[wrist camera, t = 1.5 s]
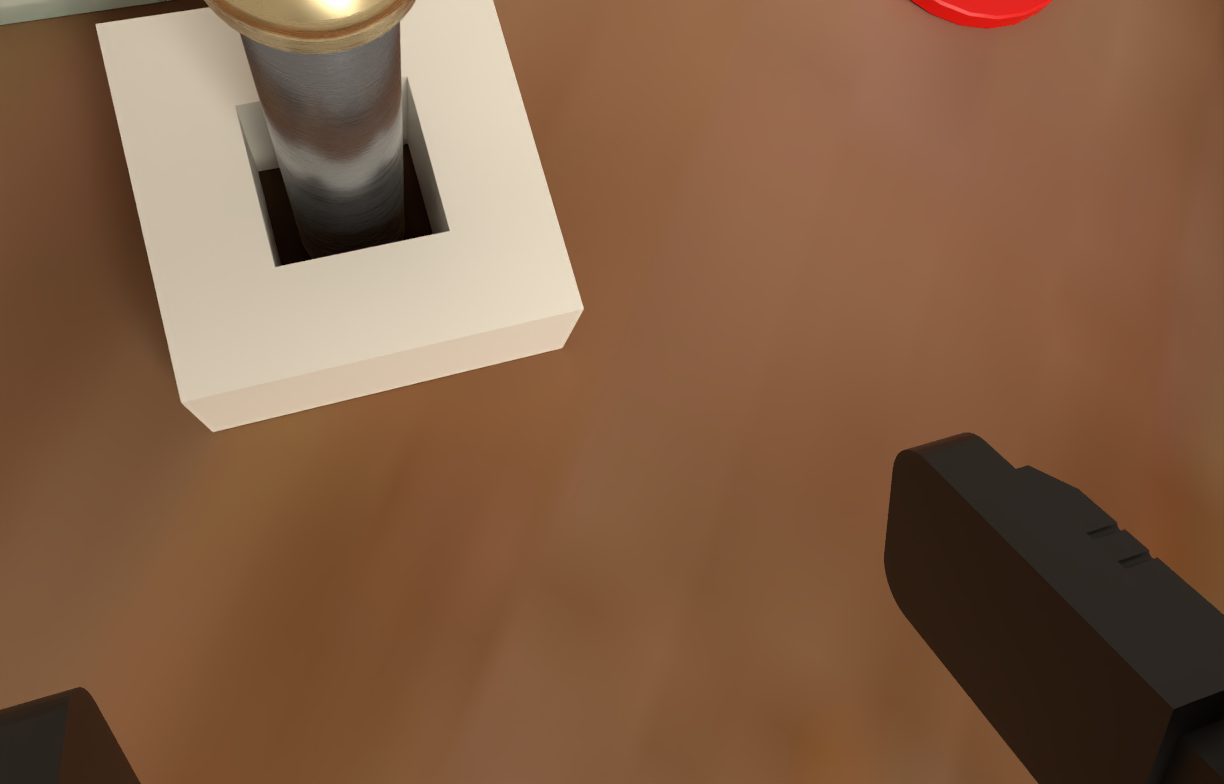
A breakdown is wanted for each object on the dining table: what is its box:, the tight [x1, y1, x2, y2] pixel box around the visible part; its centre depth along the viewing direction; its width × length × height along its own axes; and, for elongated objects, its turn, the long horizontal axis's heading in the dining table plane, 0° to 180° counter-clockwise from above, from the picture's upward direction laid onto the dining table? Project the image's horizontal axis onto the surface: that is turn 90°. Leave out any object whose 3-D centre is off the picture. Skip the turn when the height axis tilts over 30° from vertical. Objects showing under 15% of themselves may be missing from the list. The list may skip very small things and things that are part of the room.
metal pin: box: [204, 0, 416, 259], centre depth 23 cm, size 4×4×14 cm
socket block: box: [95, 0, 584, 432], centre depth 28 cm, size 10×10×4 cm
